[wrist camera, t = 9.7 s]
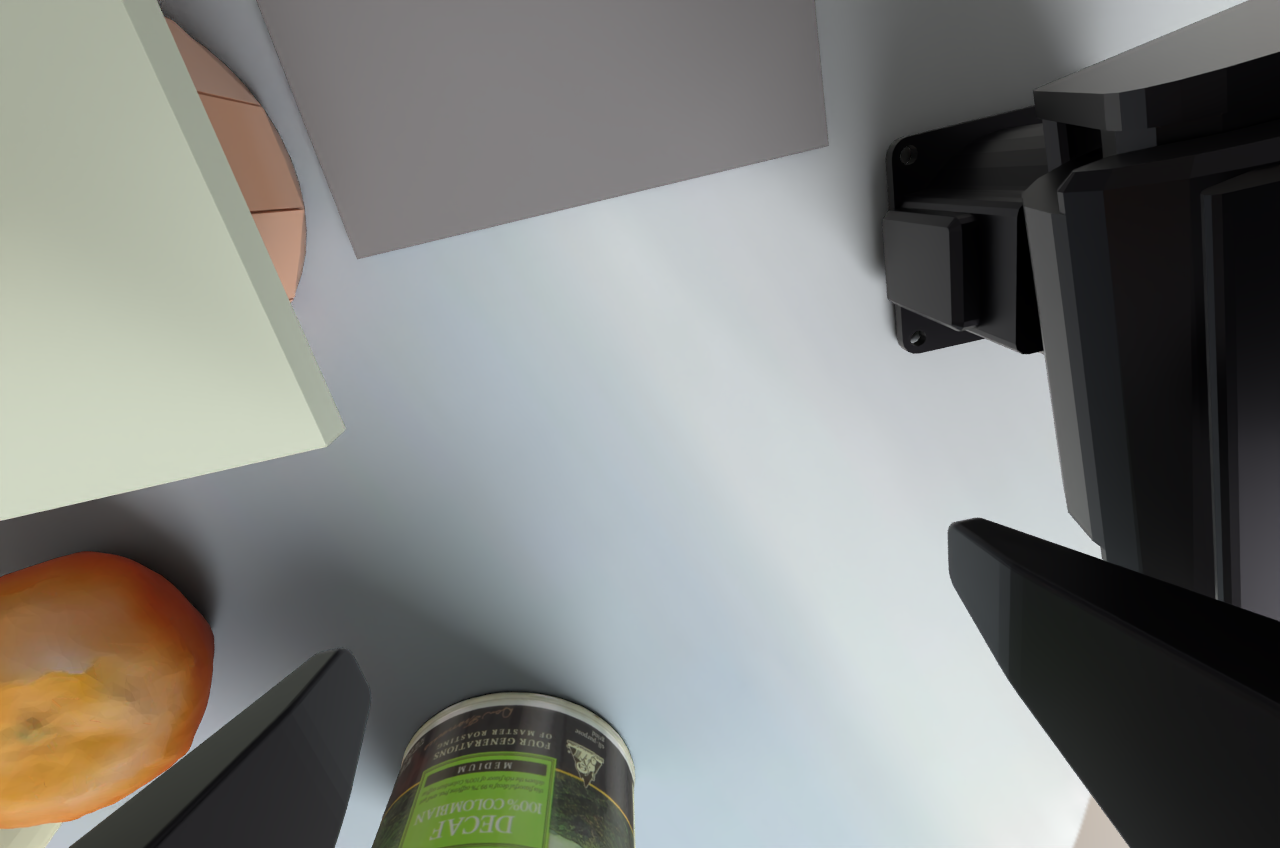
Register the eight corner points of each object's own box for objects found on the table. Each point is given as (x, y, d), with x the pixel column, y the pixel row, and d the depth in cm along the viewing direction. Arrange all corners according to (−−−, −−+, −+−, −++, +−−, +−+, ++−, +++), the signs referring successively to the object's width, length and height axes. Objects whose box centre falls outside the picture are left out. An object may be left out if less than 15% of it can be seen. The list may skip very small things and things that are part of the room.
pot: (206, -51, 15) (-24, -181, 10) (359, 328, 19) (255, 387, 14) (-155, 46, 16) (-571, -28, 10) (63, 397, 20) (-156, 482, 14)
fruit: (-106, 632, 21) (-306, 763, 14) (131, 490, 24) (63, 541, 17) (80, 774, 24) (-10, 943, 17) (271, 632, 27) (263, 726, 20)
